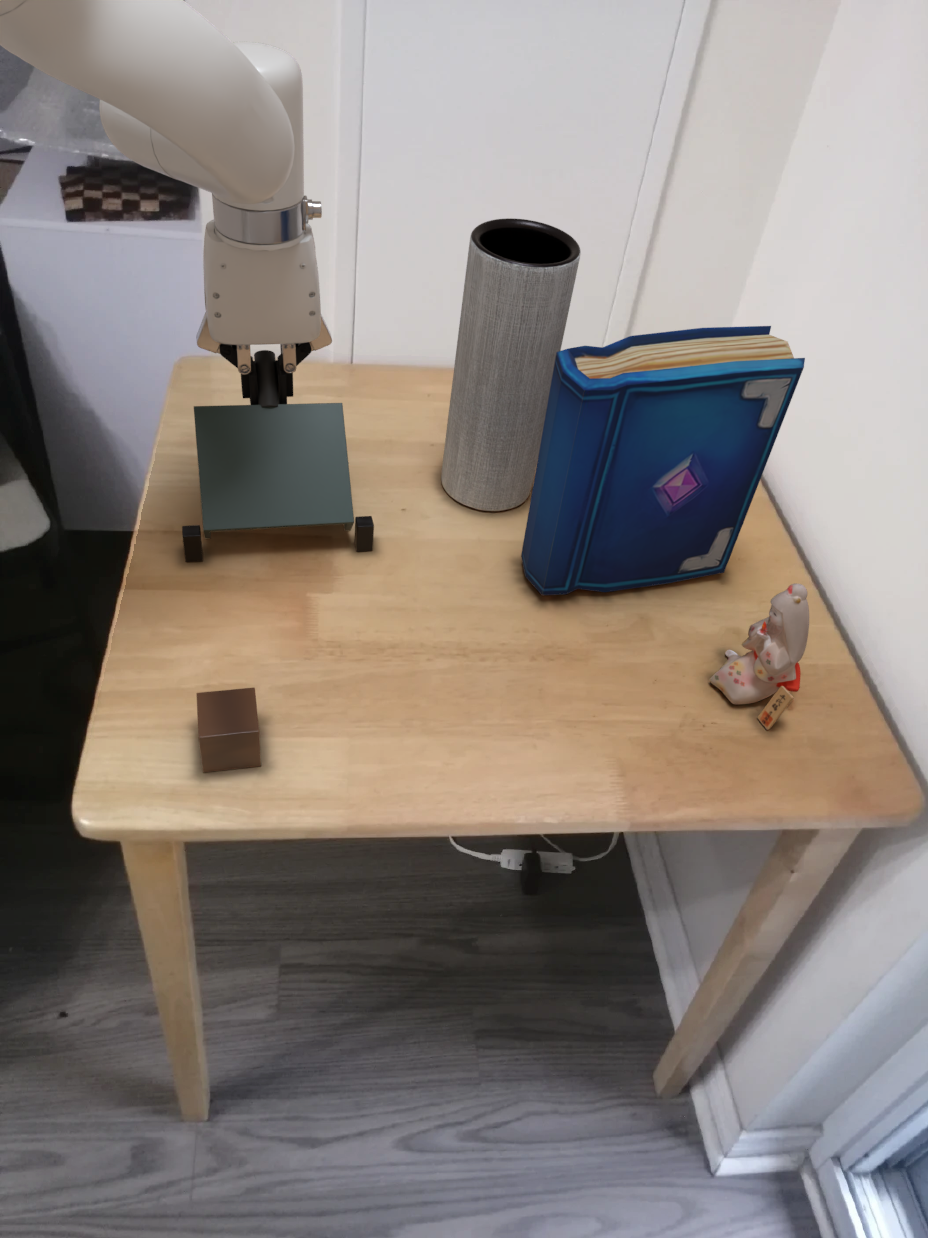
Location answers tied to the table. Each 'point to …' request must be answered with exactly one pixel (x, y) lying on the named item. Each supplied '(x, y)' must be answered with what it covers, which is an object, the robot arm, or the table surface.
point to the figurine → (769, 657)
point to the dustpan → (272, 461)
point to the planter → (506, 359)
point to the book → (653, 456)
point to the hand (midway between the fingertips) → (267, 400)
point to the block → (228, 729)
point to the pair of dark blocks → (194, 544)
